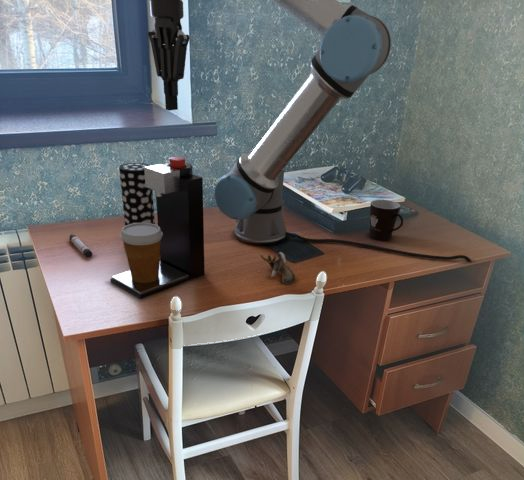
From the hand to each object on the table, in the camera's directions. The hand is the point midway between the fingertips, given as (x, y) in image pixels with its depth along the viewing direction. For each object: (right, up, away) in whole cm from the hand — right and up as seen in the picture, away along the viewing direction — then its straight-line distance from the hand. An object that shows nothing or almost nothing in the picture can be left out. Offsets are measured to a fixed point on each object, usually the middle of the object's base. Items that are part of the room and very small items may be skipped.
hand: (171, 109), depth 135 cm
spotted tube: (-12, -29, +18) cm, 36 cm away
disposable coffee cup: (-5, -44, -7) cm, 44 cm away
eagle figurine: (+27, -43, 0) cm, 50 cm away
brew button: (+4, -19, -13) cm, 23 cm away
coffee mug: (+59, -28, +26) cm, 70 cm away
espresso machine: (-4, -44, -5) cm, 45 cm away
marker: (-27, -33, +10) cm, 44 cm away
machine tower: (+3, -41, +1) cm, 41 cm away
